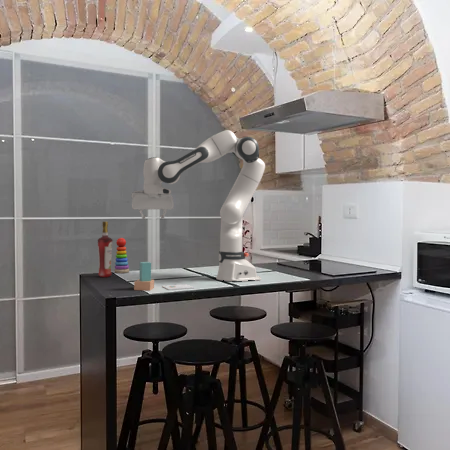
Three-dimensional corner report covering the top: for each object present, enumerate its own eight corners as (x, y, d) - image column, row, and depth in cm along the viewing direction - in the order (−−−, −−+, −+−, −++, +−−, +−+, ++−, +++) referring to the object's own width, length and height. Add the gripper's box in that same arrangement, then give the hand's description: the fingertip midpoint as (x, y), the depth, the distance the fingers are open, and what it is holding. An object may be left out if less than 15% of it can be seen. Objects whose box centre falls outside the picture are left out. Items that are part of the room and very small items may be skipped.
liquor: (102, 275, 246) (102, 221, 244) (115, 276, 243) (115, 221, 242) (94, 277, 239) (94, 221, 237) (107, 278, 236) (107, 222, 235)
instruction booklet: (186, 285, 220) (186, 283, 220) (194, 288, 212) (194, 286, 212) (161, 286, 215) (161, 285, 215) (168, 289, 207) (168, 288, 207)
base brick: (154, 288, 211) (154, 279, 211) (149, 291, 204) (150, 282, 204) (138, 288, 212) (138, 279, 212) (134, 290, 205) (134, 281, 205)
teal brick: (148, 279, 211) (148, 261, 211) (150, 281, 207) (151, 262, 207) (139, 280, 209) (139, 262, 209) (142, 281, 206) (142, 263, 205)
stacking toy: (122, 270, 263) (123, 237, 262) (132, 272, 258) (132, 238, 257) (111, 272, 257) (111, 237, 256) (120, 273, 252) (120, 238, 251)
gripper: (132, 190, 226) (132, 219, 226) (174, 190, 233) (174, 218, 233) (130, 190, 232) (130, 219, 232) (171, 191, 239) (171, 218, 239)
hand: (153, 218), depth 233 cm, fingers open, 8 cm apart
